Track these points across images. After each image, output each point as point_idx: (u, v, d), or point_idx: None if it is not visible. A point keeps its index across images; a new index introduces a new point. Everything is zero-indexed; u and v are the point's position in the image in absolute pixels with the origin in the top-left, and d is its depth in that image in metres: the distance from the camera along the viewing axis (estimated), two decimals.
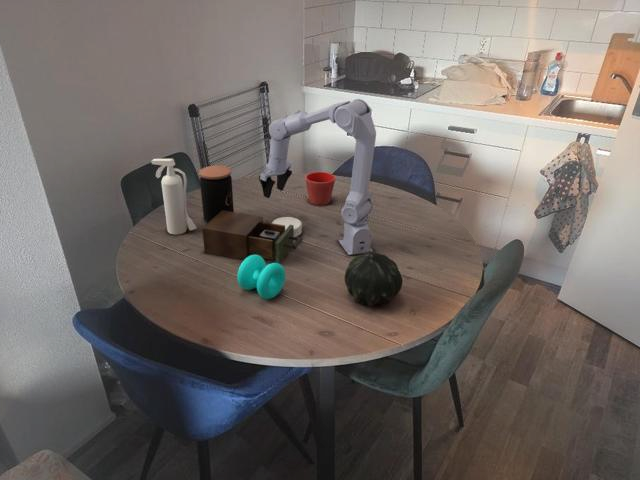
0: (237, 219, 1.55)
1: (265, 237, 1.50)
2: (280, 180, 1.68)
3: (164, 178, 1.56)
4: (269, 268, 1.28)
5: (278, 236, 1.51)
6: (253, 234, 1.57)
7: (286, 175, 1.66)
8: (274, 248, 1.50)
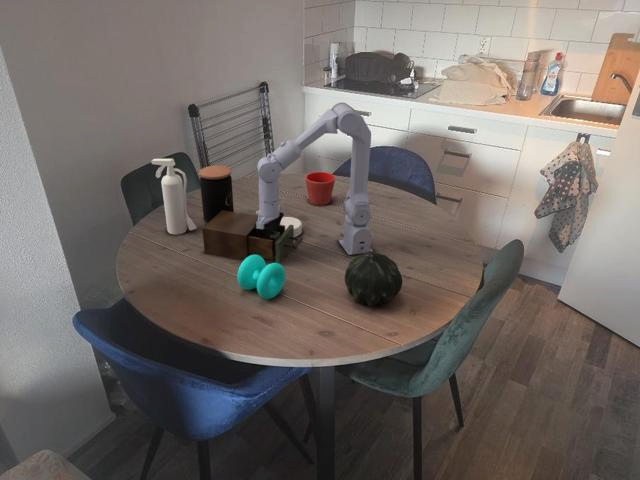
0: (237, 219, 1.55)
1: None
2: (272, 225, 1.53)
3: (164, 178, 1.56)
4: (269, 268, 1.28)
5: (278, 236, 1.51)
6: (253, 234, 1.57)
7: (279, 218, 1.51)
8: (274, 248, 1.50)
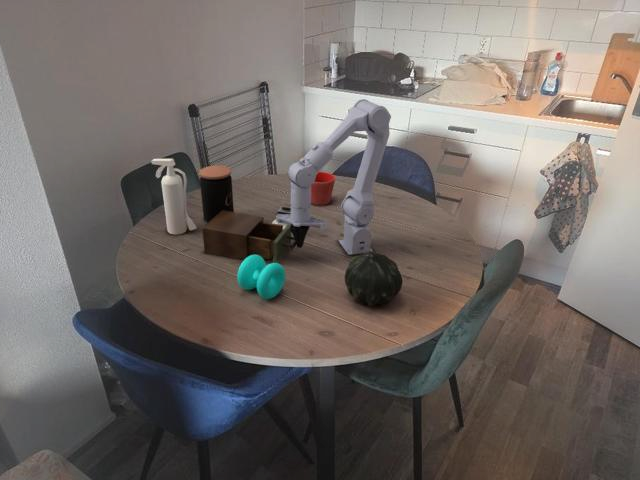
0: (237, 219, 1.55)
1: (282, 212, 1.61)
2: None
3: (164, 178, 1.56)
4: (269, 268, 1.28)
5: None
6: (251, 233, 1.58)
7: None
8: None
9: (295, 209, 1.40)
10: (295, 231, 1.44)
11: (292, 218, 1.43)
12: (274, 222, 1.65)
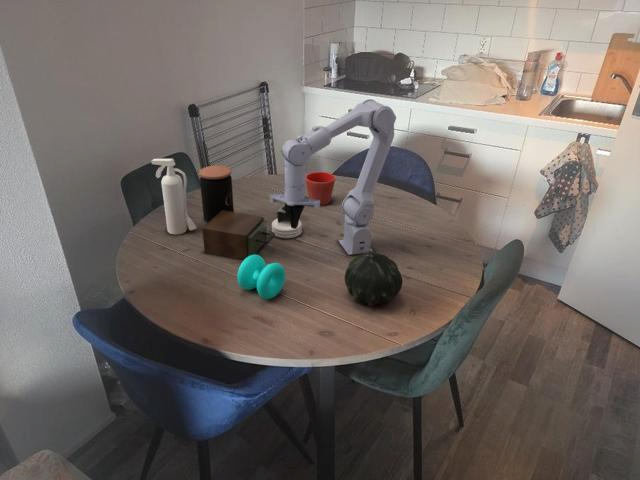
0: (237, 219, 1.55)
1: (282, 212, 1.61)
2: None
3: (164, 178, 1.56)
4: (269, 268, 1.28)
5: None
6: None
7: None
8: None
9: (289, 188, 1.37)
10: (289, 211, 1.41)
11: (286, 197, 1.40)
12: (274, 222, 1.65)
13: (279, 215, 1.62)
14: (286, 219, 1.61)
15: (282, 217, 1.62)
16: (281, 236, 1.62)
